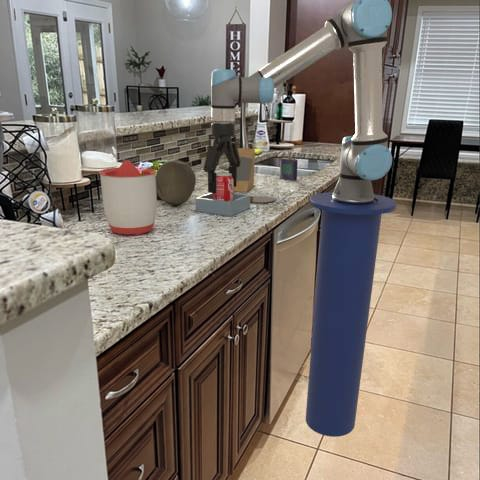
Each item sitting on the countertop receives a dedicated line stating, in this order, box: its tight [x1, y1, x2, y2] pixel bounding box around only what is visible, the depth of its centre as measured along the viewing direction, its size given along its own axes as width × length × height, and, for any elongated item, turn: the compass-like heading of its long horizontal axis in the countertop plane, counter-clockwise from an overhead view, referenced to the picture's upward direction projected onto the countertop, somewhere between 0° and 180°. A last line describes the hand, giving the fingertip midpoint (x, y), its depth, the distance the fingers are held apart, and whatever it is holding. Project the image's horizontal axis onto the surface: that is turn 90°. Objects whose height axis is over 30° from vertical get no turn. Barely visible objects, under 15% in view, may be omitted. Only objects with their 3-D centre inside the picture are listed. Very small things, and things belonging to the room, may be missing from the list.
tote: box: [194, 192, 251, 217], centre depth 170 cm, size 14×14×4 cm
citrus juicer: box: [98, 159, 158, 236], centre depth 143 cm, size 16×17×20 cm
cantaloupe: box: [155, 160, 197, 207], centre depth 174 cm, size 14×14×15 cm
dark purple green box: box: [279, 154, 299, 182], centre depth 225 cm, size 9×3×11 cm, turn 46°
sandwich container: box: [234, 147, 256, 193], centre depth 203 cm, size 9×15×15 cm, turn 168°
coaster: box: [250, 195, 275, 204], centre depth 186 cm, size 11×11×1 cm
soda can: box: [213, 172, 235, 202], centre depth 169 cm, size 7×7×12 cm
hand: (222, 189), depth 168 cm, fingers open, 13 cm apart
